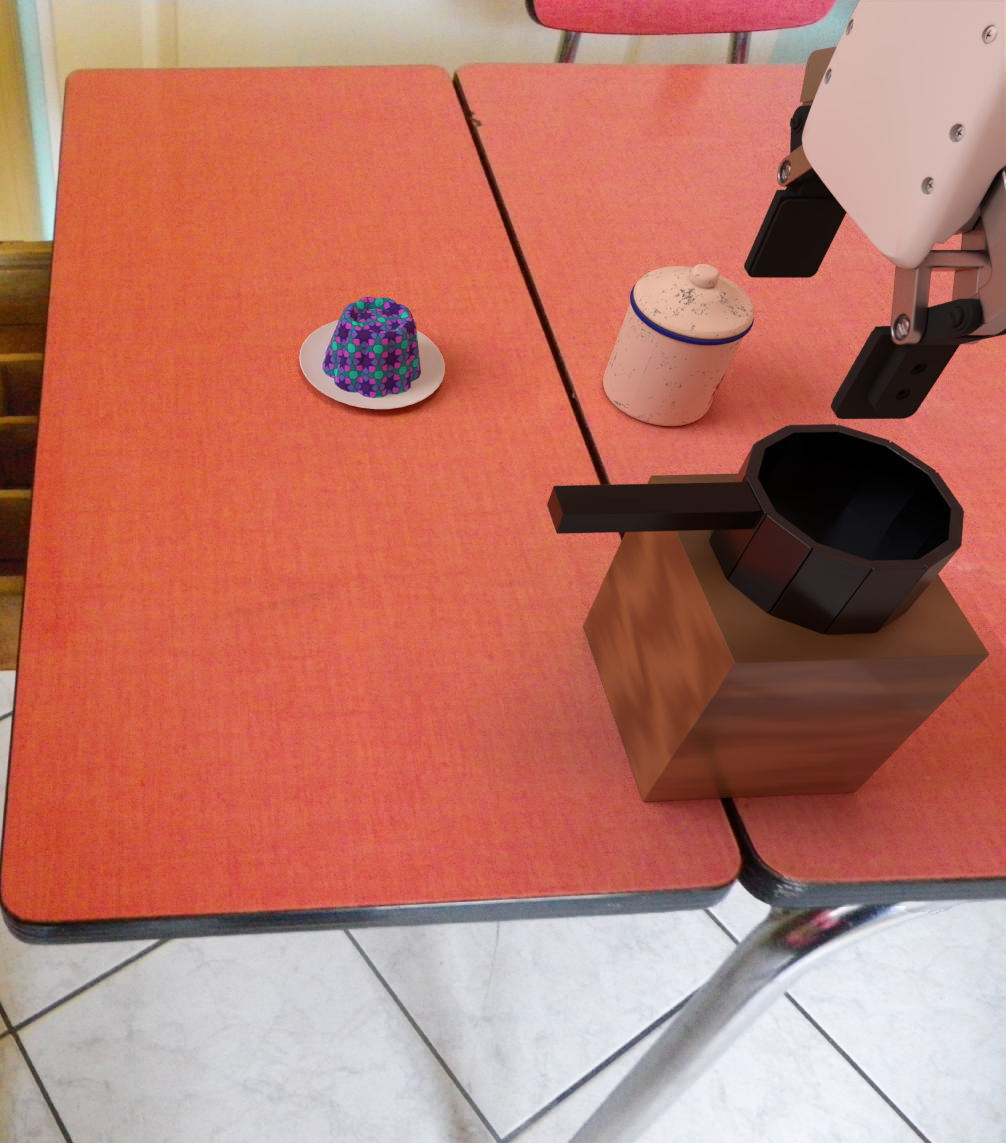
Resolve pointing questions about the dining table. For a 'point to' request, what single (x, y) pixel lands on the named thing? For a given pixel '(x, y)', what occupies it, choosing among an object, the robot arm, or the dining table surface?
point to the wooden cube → (758, 676)
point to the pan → (801, 524)
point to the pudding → (373, 357)
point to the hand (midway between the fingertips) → (820, 339)
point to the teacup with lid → (676, 344)
